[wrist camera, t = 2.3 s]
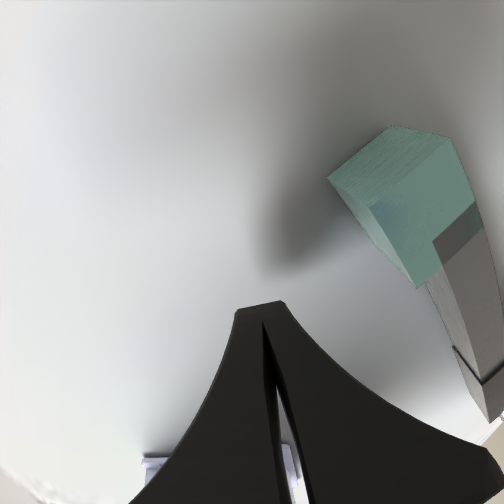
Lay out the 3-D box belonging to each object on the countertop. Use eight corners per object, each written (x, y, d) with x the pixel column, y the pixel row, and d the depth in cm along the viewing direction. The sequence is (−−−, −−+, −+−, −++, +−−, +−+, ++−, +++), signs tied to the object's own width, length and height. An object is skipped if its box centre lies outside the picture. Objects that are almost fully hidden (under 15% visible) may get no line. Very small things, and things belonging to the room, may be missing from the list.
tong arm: (504, 374, 17) (525, 402, 14) (463, 409, 18) (482, 439, 15) (420, 101, 8) (492, 110, 5) (326, 177, 9) (376, 214, 6)
